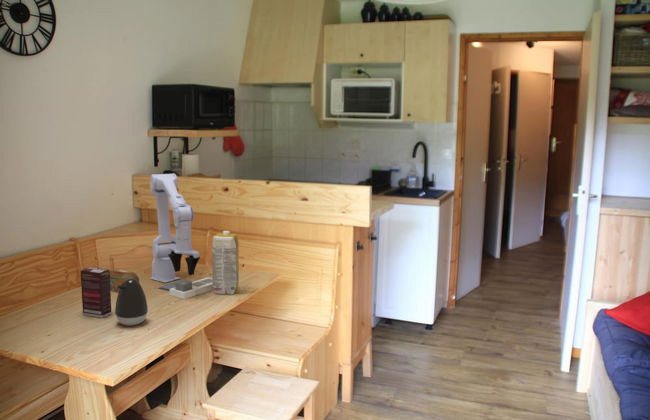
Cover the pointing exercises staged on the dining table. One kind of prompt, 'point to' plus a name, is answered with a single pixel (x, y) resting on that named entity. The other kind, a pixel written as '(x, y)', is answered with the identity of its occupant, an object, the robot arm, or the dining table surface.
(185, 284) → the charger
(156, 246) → the robot arm
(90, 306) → the supplement box
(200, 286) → the outlet strip
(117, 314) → the black egg-shaped piece
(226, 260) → the juice carton
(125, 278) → the tin
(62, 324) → the dining table surface
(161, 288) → the phone
